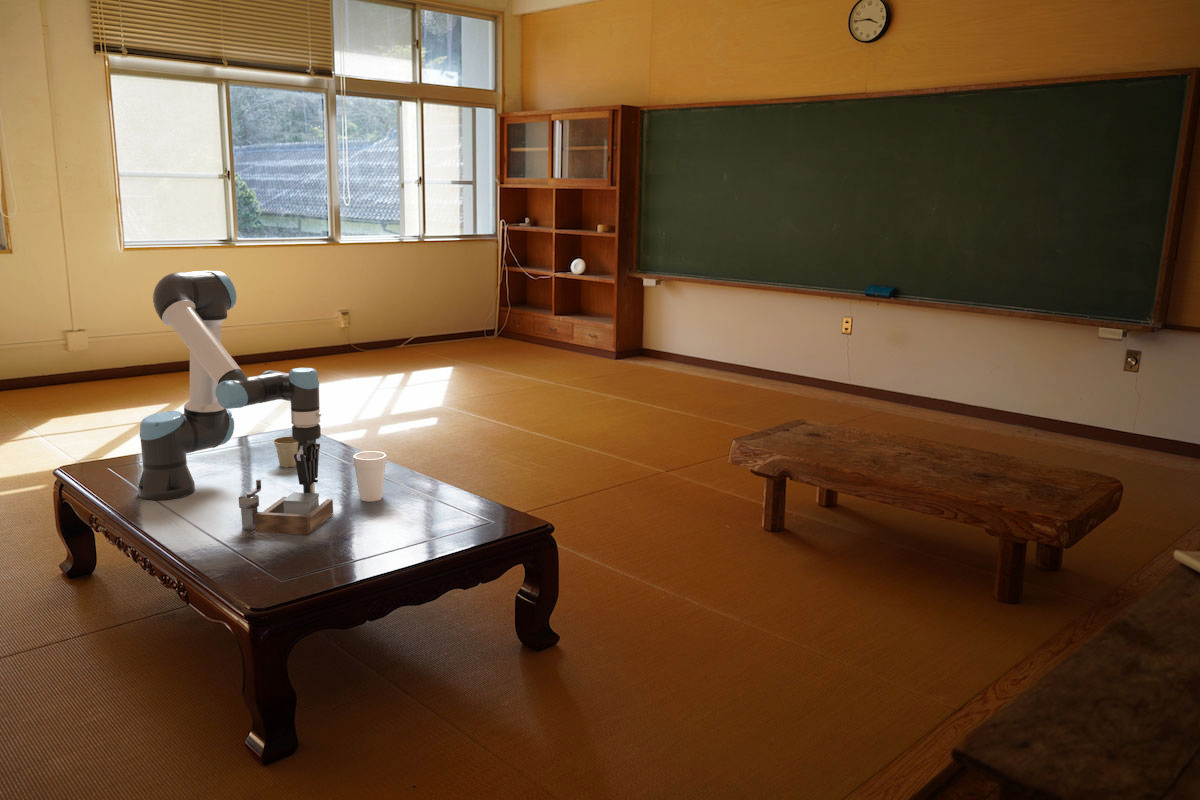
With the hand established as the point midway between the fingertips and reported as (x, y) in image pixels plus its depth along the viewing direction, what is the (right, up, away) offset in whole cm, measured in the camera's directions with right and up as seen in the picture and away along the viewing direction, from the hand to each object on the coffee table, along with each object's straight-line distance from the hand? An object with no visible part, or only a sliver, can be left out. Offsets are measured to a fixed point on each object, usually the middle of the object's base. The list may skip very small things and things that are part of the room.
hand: (309, 505), depth 259 cm
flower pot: (-20, +8, +43) cm, 48 cm away
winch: (-11, -4, -12) cm, 17 cm away
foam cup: (+14, +1, +13) cm, 19 cm away
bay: (-1, -3, -8) cm, 9 cm away
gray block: (0, -3, -5) cm, 6 cm away
